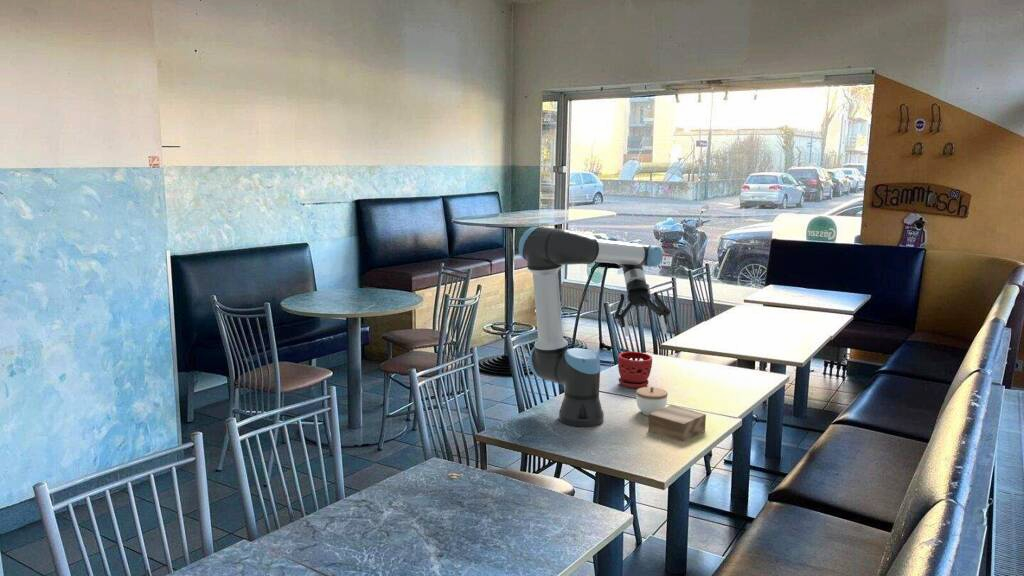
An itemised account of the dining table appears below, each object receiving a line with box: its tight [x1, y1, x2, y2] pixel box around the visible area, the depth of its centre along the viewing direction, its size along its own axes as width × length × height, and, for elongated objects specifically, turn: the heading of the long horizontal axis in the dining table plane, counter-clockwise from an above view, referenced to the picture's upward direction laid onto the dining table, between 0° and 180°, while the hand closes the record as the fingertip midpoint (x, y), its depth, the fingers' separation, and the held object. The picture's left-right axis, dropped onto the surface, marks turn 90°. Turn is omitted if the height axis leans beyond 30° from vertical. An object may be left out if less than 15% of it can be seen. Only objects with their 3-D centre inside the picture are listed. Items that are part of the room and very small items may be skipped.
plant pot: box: [617, 351, 653, 389], centre depth 285 cm, size 13×13×12 cm
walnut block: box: [647, 404, 707, 442], centre depth 236 cm, size 13×13×6 cm
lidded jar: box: [635, 386, 669, 417], centre depth 253 cm, size 11×11×9 cm
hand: (646, 333), depth 260 cm, fingers open, 13 cm apart
